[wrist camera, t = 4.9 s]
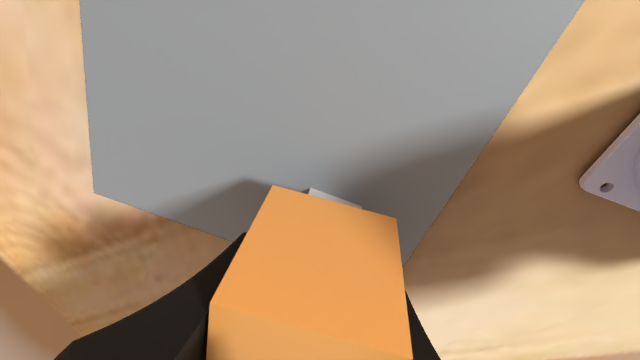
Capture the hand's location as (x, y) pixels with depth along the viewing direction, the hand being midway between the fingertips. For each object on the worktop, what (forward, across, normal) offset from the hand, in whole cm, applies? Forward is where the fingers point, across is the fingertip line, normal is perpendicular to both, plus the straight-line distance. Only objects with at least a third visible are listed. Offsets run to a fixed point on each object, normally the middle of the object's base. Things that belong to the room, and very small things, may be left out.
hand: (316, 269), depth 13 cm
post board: (+5, +3, -5) cm, 8 cm away
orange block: (+1, 0, 0) cm, 1 cm away
